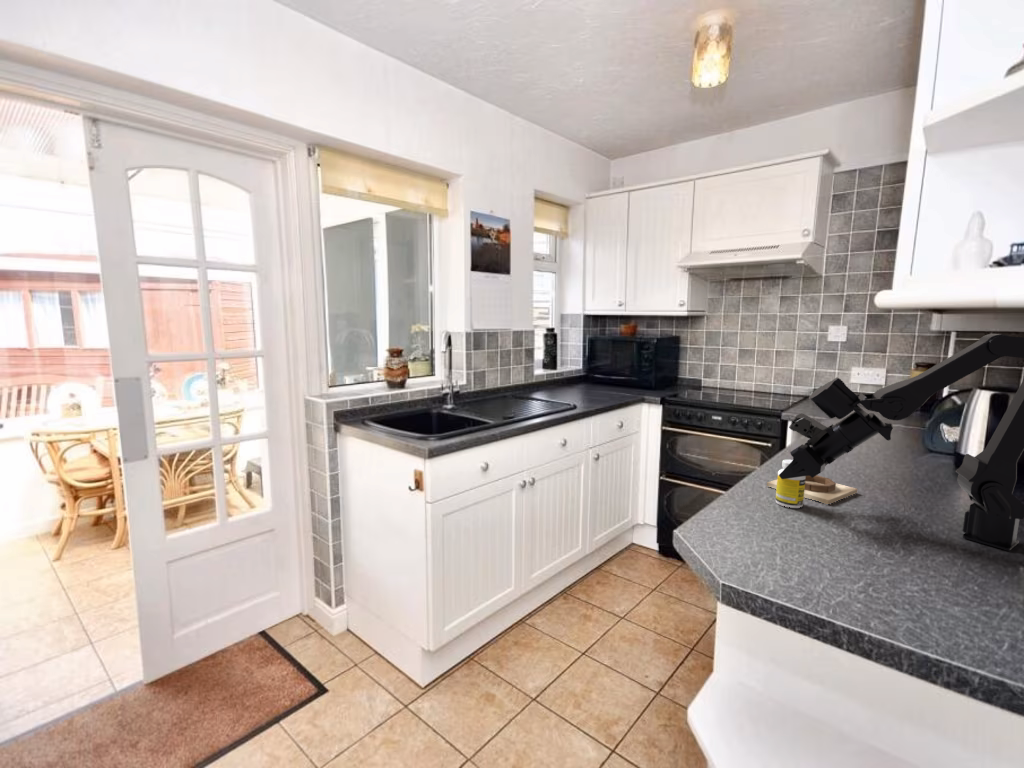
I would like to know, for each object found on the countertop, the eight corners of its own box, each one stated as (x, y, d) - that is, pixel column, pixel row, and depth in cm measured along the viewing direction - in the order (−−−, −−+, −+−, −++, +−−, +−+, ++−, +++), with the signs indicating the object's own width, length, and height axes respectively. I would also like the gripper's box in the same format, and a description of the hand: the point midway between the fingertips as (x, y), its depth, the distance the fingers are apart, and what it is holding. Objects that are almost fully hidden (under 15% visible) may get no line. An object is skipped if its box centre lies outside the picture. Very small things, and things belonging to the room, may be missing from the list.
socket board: (856, 493, 116) (858, 482, 116) (828, 505, 109) (829, 493, 108) (796, 477, 128) (797, 467, 128) (766, 487, 120) (767, 476, 120)
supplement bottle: (801, 511, 105) (805, 467, 104) (773, 505, 109) (776, 462, 107) (804, 503, 110) (808, 461, 108) (777, 498, 113) (780, 457, 112)
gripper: (828, 398, 110) (772, 438, 119) (805, 409, 97) (744, 452, 106) (868, 438, 105) (806, 476, 115) (849, 455, 92) (781, 496, 101)
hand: (784, 474), depth 109 cm, fingers closed on supplement bottle, 5 cm apart
